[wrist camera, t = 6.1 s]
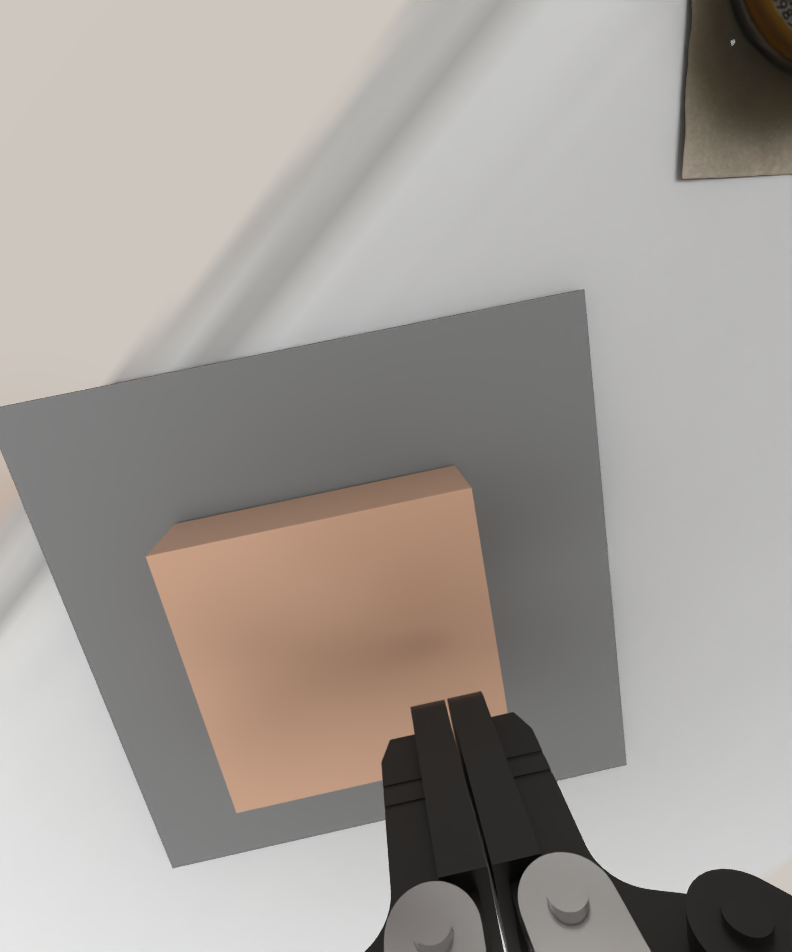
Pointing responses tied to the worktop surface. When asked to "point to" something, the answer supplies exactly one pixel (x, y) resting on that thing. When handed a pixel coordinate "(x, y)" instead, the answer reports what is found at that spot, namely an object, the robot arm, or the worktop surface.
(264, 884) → the worktop surface
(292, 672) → the tile
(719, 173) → the condiment
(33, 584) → the worktop surface
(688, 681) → the worktop surface
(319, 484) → the mat
